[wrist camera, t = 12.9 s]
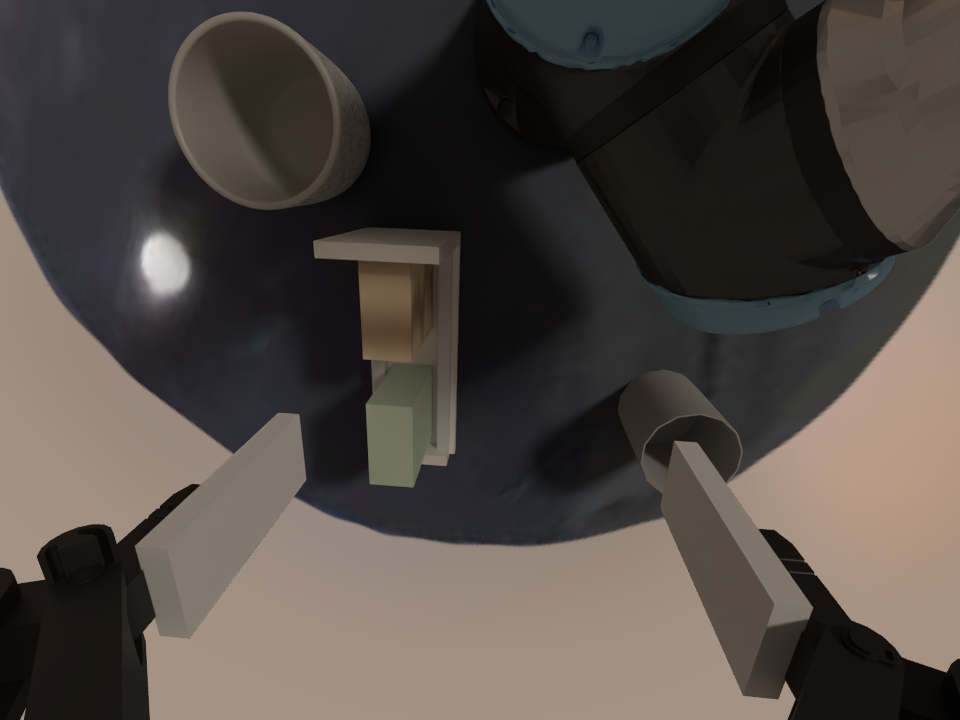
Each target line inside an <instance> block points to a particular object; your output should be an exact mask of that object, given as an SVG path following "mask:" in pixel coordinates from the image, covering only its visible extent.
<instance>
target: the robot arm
mask: <svg viewBox="0 0 960 720" xmlns="http://www.w3.org/2000/svg"><path fill="white" fill-rule="evenodd" d="M785 9H786V10H785ZM474 54H475V64H476V70H477V74H478V78H479V82H480V85H481V88H482V91H483V93H484V96H485V98H486V100H487V102H488V104H489V106H490V108H491V109H492V111H493V113H494V114H495V115H496V117H497V118H498V119H499V121H500V122H501V123H502V124H503V125H504V126H505V127H506V128H507V129H508V130H509V131H510V132H512V133H513V134H514V135H516V136H517V137H519V138H520V139H522V140H524V141H526V142H528V143H530V144H532V145H535V146H538V147H542V148H547V149H555V150H566V149H569V151H570V152H571V154H572V156H573V157H574V159H575V161H576V164H577V166H578V167H579V169H580V171H581V172H582V174H583V176H584V177H585V179H586V180H587V182H588V184H589V185H590V187H591V189H592V190H593V192H594V194H595V195H596V197H597V199H598V200H599V202H600V204H601V205H602V207H603V208H604V210H605V212H606V213H607V215H608V217H609V218H610V220H611V222H612V223H613V225H614V227H615V228H616V230H617V232H618V233H619V235H620V236H621V238H622V240H623V241H624V243H625V245H626V246H627V248H628V250H629V251H630V253H631V255H632V256H633V258H634V260H635V261H636V265H637V269H638V272H639V274H640V276H641V278H642V279H643V280H644V281H646V283H647V284H648V286H649V287H651V288H652V289H653V290H655V292H656V293H657V295H658V296H659V298H660V299H661V301H662V302H663V304H664V305H665V307H666V308H667V310H668V311H669V312H670V313H671V314H672V315H673V316H674V317H675V318H676V319H678V320H679V321H680V322H682V323H684V324H685V325H687V326H689V327H692V328H695V329H697V330H701V331H705V332H710V333H717V334H753V333H762V332H769V331H775V330H780V329H784V328H788V327H792V326H796V325H800V324H803V323H806V322H809V321H812V320H815V319H817V318H818V317H819V312H820V311H821V310H825V309H842V308H844V307H846V306H848V305H850V304H852V303H853V302H855V301H857V300H858V299H860V298H862V297H863V296H865V295H866V294H867V293H869V292H870V291H872V290H873V289H874V288H875V287H876V286H877V285H878V284H879V283H880V282H881V281H883V280H884V279H885V277H886V276H887V274H888V273H889V271H890V270H891V268H892V266H893V264H894V260H895V255H897V254H901V253H905V252H909V251H913V250H916V249H920V248H924V247H925V246H927V245H929V244H930V243H931V242H932V241H933V240H934V238H935V237H936V236H937V235H938V234H939V232H940V231H941V230H942V229H943V228H944V226H945V225H946V224H947V223H948V222H949V220H950V219H951V218H952V217H953V216H954V214H955V213H956V212H957V211H958V210H959V208H960V0H825V1H823V2H822V3H820V4H819V5H817V6H816V7H814V8H813V9H811V10H810V11H808V12H807V13H806V14H804V15H803V16H801V17H800V18H798V19H796V20H795V19H794V17H793V15H792V14H791V12H790V10H789V9H788V5H787V3H786V1H785V0H482V2H481V5H480V8H479V12H478V16H477V22H476V28H475V37H474ZM305 481H306V472H305V463H304V454H303V445H302V436H301V427H300V418H299V414H287V413H278V414H277V415H275V416H274V417H273V418H272V419H271V420H270V421H269V422H268V423H267V424H266V425H265V426H264V427H263V428H261V429H260V430H259V431H258V432H257V433H256V434H255V435H254V436H253V437H252V438H251V439H250V440H249V441H247V442H246V443H245V444H244V445H243V446H242V447H241V448H240V449H239V450H238V451H237V452H236V453H235V454H233V455H232V456H231V457H230V458H229V459H228V460H227V461H226V462H225V463H224V464H223V465H222V466H221V467H219V468H218V469H217V470H216V471H215V472H214V473H213V474H212V475H211V476H210V477H209V478H208V479H207V480H205V482H203V483H202V484H201V485H199V484H191V485H189V486H188V487H186V488H184V489H182V490H180V491H178V492H177V493H175V494H173V495H172V496H171V497H170V498H169V499H168V500H166V501H165V502H164V503H163V504H162V505H161V506H160V508H159V509H156V510H155V511H154V512H153V513H152V514H150V515H149V517H148V519H145V520H144V521H142V522H141V523H140V524H139V525H138V526H137V527H136V528H135V529H134V530H132V531H131V532H130V533H129V534H128V535H127V536H125V537H124V538H123V539H122V540H121V541H120V542H119V543H118V544H117V543H116V540H115V537H114V533H113V531H112V529H111V527H108V526H106V525H100V524H92V525H87V526H83V527H78V528H75V529H73V530H70V531H67V532H65V533H63V534H61V535H59V536H57V537H55V538H54V539H52V540H50V541H49V542H48V543H47V544H46V545H45V546H44V547H42V548H41V550H40V551H39V553H38V555H37V559H38V561H39V564H40V567H41V569H42V572H43V574H44V577H45V580H40V581H34V582H27V583H20V584H17V581H16V579H15V576H14V574H13V573H12V571H11V570H9V569H5V568H0V720H20V719H21V717H22V715H23V712H24V710H25V708H26V710H25V716H24V720H150V716H149V696H148V677H147V658H146V641H145V638H144V634H143V631H144V630H145V629H146V628H147V626H148V625H149V624H150V623H151V622H152V620H153V619H154V618H155V620H156V623H157V627H158V631H159V634H160V636H169V637H179V638H189V639H190V638H191V636H192V635H193V633H194V632H195V631H196V629H197V628H198V626H199V625H200V624H201V622H202V621H203V620H204V618H205V617H206V616H207V614H208V613H209V611H210V610H211V609H212V607H213V606H214V605H215V603H216V602H217V601H218V599H219V598H220V597H221V595H222V594H223V592H224V591H225V590H226V588H227V587H228V586H229V584H230V583H231V582H232V580H233V579H234V578H235V576H236V575H237V573H238V572H239V571H240V569H241V568H242V567H243V565H244V564H245V563H246V561H247V560H248V558H249V557H250V556H251V554H252V553H253V552H254V550H255V549H256V548H257V546H258V545H259V543H260V542H261V541H262V539H263V538H264V537H265V535H266V534H267V533H268V531H269V530H270V528H271V527H272V526H273V524H274V523H275V522H276V520H277V519H278V518H279V516H280V515H281V513H282V512H283V511H284V509H285V508H286V507H287V505H288V504H289V503H290V501H291V500H292V498H293V497H294V496H295V494H296V493H297V492H298V490H299V489H300V488H301V486H302V485H303V483H304V482H305ZM660 508H661V511H662V513H663V515H664V517H665V520H666V522H667V524H668V526H669V529H670V531H671V533H672V535H673V538H674V540H675V542H676V544H677V547H678V549H679V551H680V553H681V556H682V558H683V560H684V562H685V565H686V567H687V569H688V572H689V574H690V576H691V578H692V580H693V583H694V585H695V588H696V590H697V592H698V594H699V597H700V598H701V601H702V603H703V606H704V608H705V610H706V612H707V615H708V617H709V619H710V621H711V623H712V626H713V628H714V631H715V633H716V635H717V637H718V639H719V642H720V644H721V646H722V649H723V651H724V653H725V655H726V658H727V660H728V662H729V664H730V667H731V669H732V671H733V673H734V676H735V678H736V680H737V683H738V685H739V687H740V689H741V692H742V694H743V696H752V697H761V698H771V699H779V696H780V693H781V691H782V688H783V685H784V683H785V680H786V682H787V684H788V686H789V688H790V690H791V691H792V693H793V695H794V697H795V699H796V700H795V702H794V705H793V707H792V710H791V713H790V715H789V717H788V720H960V659H957V660H956V661H954V662H953V663H952V664H951V666H950V667H949V669H948V671H947V673H946V672H943V671H940V670H937V669H934V668H931V667H928V666H925V665H922V664H919V663H916V662H913V661H910V660H907V659H905V658H902V657H901V656H900V654H899V653H898V652H897V650H896V649H895V648H894V647H893V646H892V645H891V644H890V643H889V642H888V641H887V640H886V639H885V638H883V636H881V635H879V634H878V633H876V632H875V631H873V630H871V629H870V628H868V627H866V626H864V625H861V624H859V623H856V622H854V621H851V620H850V618H849V617H848V616H847V614H846V613H845V612H844V610H843V609H842V608H841V607H840V605H839V604H838V603H837V601H836V600H835V599H834V597H833V596H832V595H831V594H830V592H829V591H828V590H827V588H826V587H825V586H824V584H823V583H822V582H821V581H820V579H819V578H818V577H817V576H815V575H814V571H813V570H812V569H811V568H810V566H809V565H808V564H807V563H805V562H804V558H803V557H802V556H801V555H800V553H799V552H798V551H797V549H796V548H795V547H794V545H793V544H792V543H790V542H789V541H788V540H787V539H785V538H784V537H783V536H781V535H780V534H779V533H777V532H776V531H775V530H766V529H758V528H757V527H756V526H755V524H754V523H753V521H752V520H751V519H750V517H749V516H748V514H747V513H746V511H745V510H744V508H743V507H742V506H741V504H740V503H739V502H738V500H737V498H736V497H735V496H734V494H733V493H732V492H731V490H730V488H729V487H728V486H727V484H726V483H725V481H724V480H723V478H722V477H721V476H720V474H719V473H718V471H717V470H716V468H715V467H714V466H713V464H712V463H711V461H710V460H709V458H708V457H707V456H706V454H705V453H704V451H703V450H702V449H701V447H700V446H699V444H698V443H697V442H684V441H674V444H673V449H672V454H671V458H670V463H669V468H668V473H667V478H666V483H665V487H664V492H663V497H662V502H661V507H660Z"/></svg>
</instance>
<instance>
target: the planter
mask: <svg viewBox="0 0 960 720" xmlns="http://www.w3.org/2000/svg"><path fill="white" fill-rule="evenodd" d="M168 105H169V113H170V118H171V123H172V126H173V130H174V133H175V136H176V138H177V141H178V143H179V145H180V147H181V149H182V151H183V153H184V155H185V157H186V158H187V160H188V162H189V163H190V165H191V166H192V167H193V169H194V170H195V171H196V172H197V174H198V175H199V176H200V177H201V178H202V179H203V180H204V181H205V182H206V183H207V184H208V185H209V186H210V187H211V188H213V189H214V190H215V191H216V192H218V193H219V194H221V195H222V196H224V197H225V198H227V199H229V200H231V201H233V202H235V203H237V204H240V205H243V206H246V207H249V208H254V209H261V210H277V209H284V208H290V207H297V206H303V205H310V204H314V203H318V202H322V201H325V200H328V199H331V198H333V197H335V196H337V195H339V194H341V193H343V192H344V191H345V190H347V189H348V188H349V187H350V186H351V185H353V183H354V182H355V181H356V180H357V179H358V177H359V176H360V174H361V173H362V171H363V169H364V167H365V165H366V162H367V159H368V156H369V151H370V144H371V132H370V124H369V119H368V115H367V111H366V109H365V106H364V104H363V101H362V99H361V97H360V95H359V94H358V92H357V90H356V89H355V87H354V86H353V84H352V83H351V82H350V80H349V79H348V78H347V77H346V76H345V75H344V73H343V72H342V71H341V70H340V69H339V68H338V67H337V66H336V65H335V64H333V63H332V62H331V61H330V60H329V59H328V58H327V57H326V56H325V55H323V54H322V53H321V52H320V51H318V50H317V49H316V48H315V47H314V46H312V45H311V44H310V43H309V42H307V41H306V40H305V39H304V38H302V37H301V36H300V35H299V34H297V33H296V32H295V31H294V30H292V29H291V28H289V27H288V26H286V25H285V24H283V23H281V22H279V21H277V20H275V19H273V18H270V17H267V16H265V15H262V14H257V13H252V12H230V13H224V14H221V15H218V16H215V17H213V18H211V19H208V20H206V21H205V22H203V23H202V24H200V25H199V26H198V27H197V28H196V29H194V30H193V31H192V32H191V33H190V34H189V36H188V37H187V38H186V39H185V41H184V42H183V44H182V45H181V47H180V48H179V50H178V52H177V54H176V56H175V59H174V62H173V64H172V68H171V72H170V78H169V85H168Z"/></svg>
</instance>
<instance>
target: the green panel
mask: <svg viewBox="0 0 960 720" xmlns="http://www.w3.org/2000/svg"><path fill="white" fill-rule="evenodd" d="M366 420H367V440H368V459H369V479H370V484H377V485H389V486H402V487H414V484H415V481H416V478H417V476H418V473H419V470H420V467H421V464H422V461H423V459H424V456H425V453H426V450H427V447H428V444H429V442H430V439H431V436H432V429H433V365H419V364H403V363H395V364H394V365H393V366H392V368H391V369H390V371H389V372H388V374H387V375H386V376H385V378H384V379H383V381H382V382H381V383H380V385H379V386H378V388H377V389H376V390H375V392H374V393H373V395H372V396H371V397H370V399H369V400H368V402H367V403H366Z"/></svg>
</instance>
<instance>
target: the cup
mask: <svg viewBox="0 0 960 720" xmlns="http://www.w3.org/2000/svg"><path fill="white" fill-rule="evenodd" d="M618 414H619V417H620V420H621V422H622V425H623V428H624V430H625V432H626V434H627V437H628V439H629V441H630V443H631V446H632V448H633V450H634V452H635V455H636V457H637V459H638V462H639V464H640V466H641V468H642V471H643V473H644V475H645V477H646V480H647V481H648V482H649V483H650V484H652V485H653V486H654V487H655V488H656V489H657V490H659V491H660V492H661V493H663V492H664V487H665V483H666V478H667V473H668V468H669V463H670V458H671V454H672V449H673V444H674V441H684V442H697V443H698V444H699V446H700V447H701V449H702V450H703V451H704V453H705V454H706V456H707V457H708V458H709V460H710V461H711V463H712V464H713V466H714V467H715V468H716V470H717V471H718V473H719V474H720V476H721V477H722V478H723V480H724V481H725V483H726V484H727V482H728V481H729V480H730V479H731V478H732V477H733V476H734V475H735V473H736V472H737V471H738V469H739V465H740V461H741V458H742V454H743V450H742V446H741V443H740V439H739V436H738V433H737V432H736V431H735V430H734V429H733V428H732V426H731V425H730V424H729V423H728V422H727V421H726V420H725V419H724V418H723V416H722V415H721V414H720V413H719V412H718V411H717V410H716V409H715V408H714V406H713V405H712V404H711V403H710V402H709V401H708V400H707V399H706V398H705V397H704V395H703V394H702V393H701V392H700V391H699V390H698V389H697V388H696V387H695V386H694V385H693V384H692V383H691V382H690V381H689V380H688V379H687V378H686V377H685V376H684V375H682V374H679V373H675V372H672V371H668V370H660V371H652V372H646V373H645V374H643V375H641V376H639V377H638V378H636V379H634V380H633V381H631V382H630V383H629V384H628V386H627V387H626V389H625V390H624V391H623V393H622V394H621V396H620V400H619V406H618Z"/></svg>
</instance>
